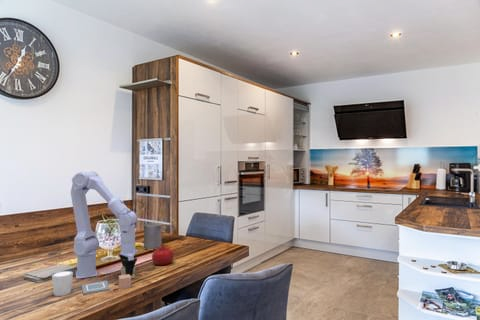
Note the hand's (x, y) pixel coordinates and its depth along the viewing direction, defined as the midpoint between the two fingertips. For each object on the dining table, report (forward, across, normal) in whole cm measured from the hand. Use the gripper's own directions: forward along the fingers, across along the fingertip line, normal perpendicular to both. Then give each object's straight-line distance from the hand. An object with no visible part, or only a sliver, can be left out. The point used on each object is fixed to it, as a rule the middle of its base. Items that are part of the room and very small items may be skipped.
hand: (127, 273), depth 135 cm
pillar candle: (+2, +42, -21) cm, 47 cm away
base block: (+2, 0, 0) cm, 2 cm away
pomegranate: (+2, +11, -18) cm, 21 cm away
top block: (+2, -11, +3) cm, 12 cm away
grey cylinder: (+2, -6, +24) cm, 25 cm away
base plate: (+1, -7, +13) cm, 15 cm away
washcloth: (+2, +19, +28) cm, 34 cm away
